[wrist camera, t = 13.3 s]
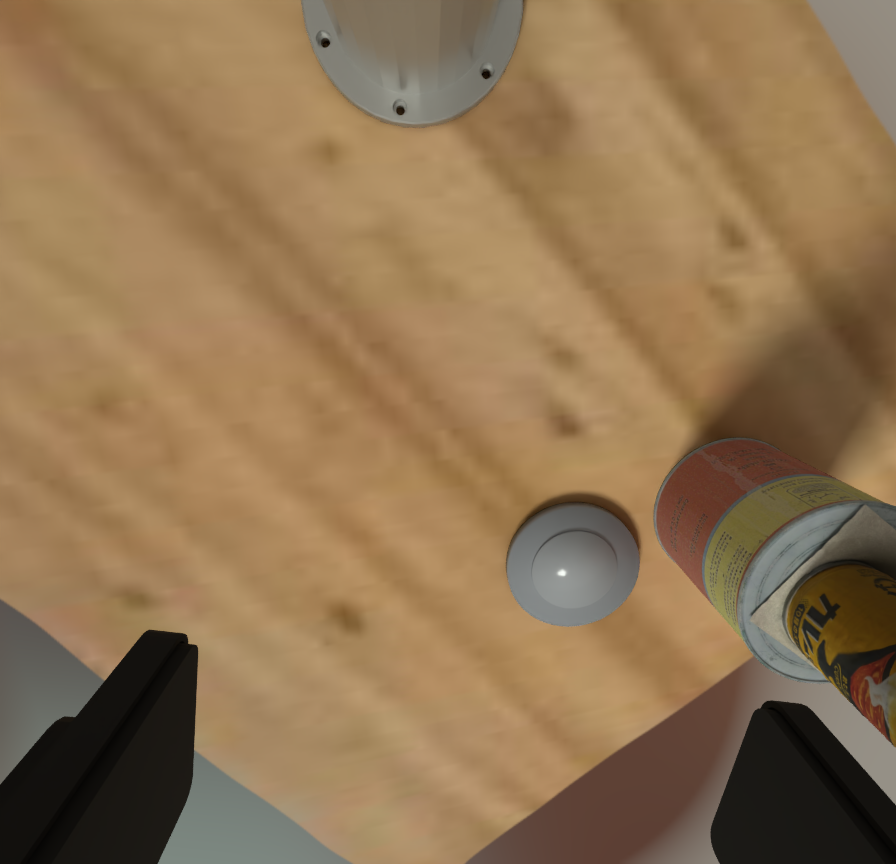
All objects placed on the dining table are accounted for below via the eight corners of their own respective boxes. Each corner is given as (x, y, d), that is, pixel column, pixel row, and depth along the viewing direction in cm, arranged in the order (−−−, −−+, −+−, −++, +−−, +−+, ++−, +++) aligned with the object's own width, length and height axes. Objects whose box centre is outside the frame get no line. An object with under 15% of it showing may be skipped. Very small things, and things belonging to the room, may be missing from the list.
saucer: (519, 493, 41) (522, 500, 39) (649, 511, 41) (655, 518, 40) (495, 610, 43) (497, 620, 42) (617, 625, 44) (623, 635, 43)
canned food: (746, 596, 44) (859, 710, 32) (625, 541, 42) (699, 641, 30) (831, 475, 41) (988, 553, 29) (706, 412, 39) (820, 467, 28)
